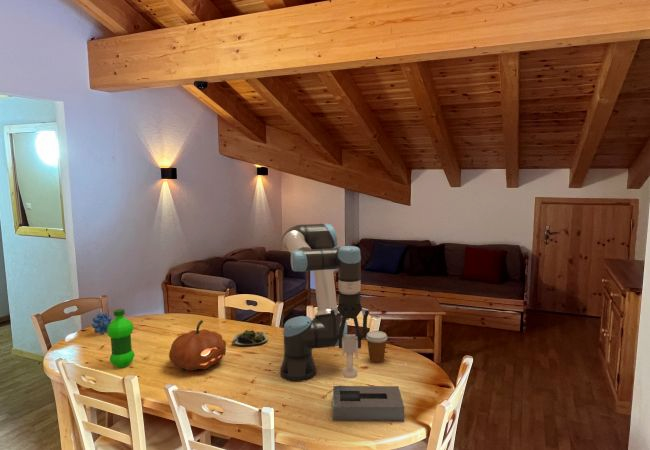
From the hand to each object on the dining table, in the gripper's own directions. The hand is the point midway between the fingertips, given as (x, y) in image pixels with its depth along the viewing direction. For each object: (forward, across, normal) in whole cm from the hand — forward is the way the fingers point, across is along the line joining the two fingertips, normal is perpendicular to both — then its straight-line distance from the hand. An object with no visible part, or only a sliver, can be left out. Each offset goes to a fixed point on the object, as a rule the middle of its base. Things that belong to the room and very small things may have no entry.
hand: (349, 356), depth 145 cm
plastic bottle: (+20, -100, +34) cm, 107 cm away
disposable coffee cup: (+20, +13, +40) cm, 47 cm away
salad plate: (+20, -49, +62) cm, 82 cm away
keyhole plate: (+20, +6, 0) cm, 20 cm away
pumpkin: (+20, -66, +35) cm, 77 cm away
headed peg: (+7, 0, 0) cm, 7 cm away
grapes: (+20, -129, +70) cm, 148 cm away
